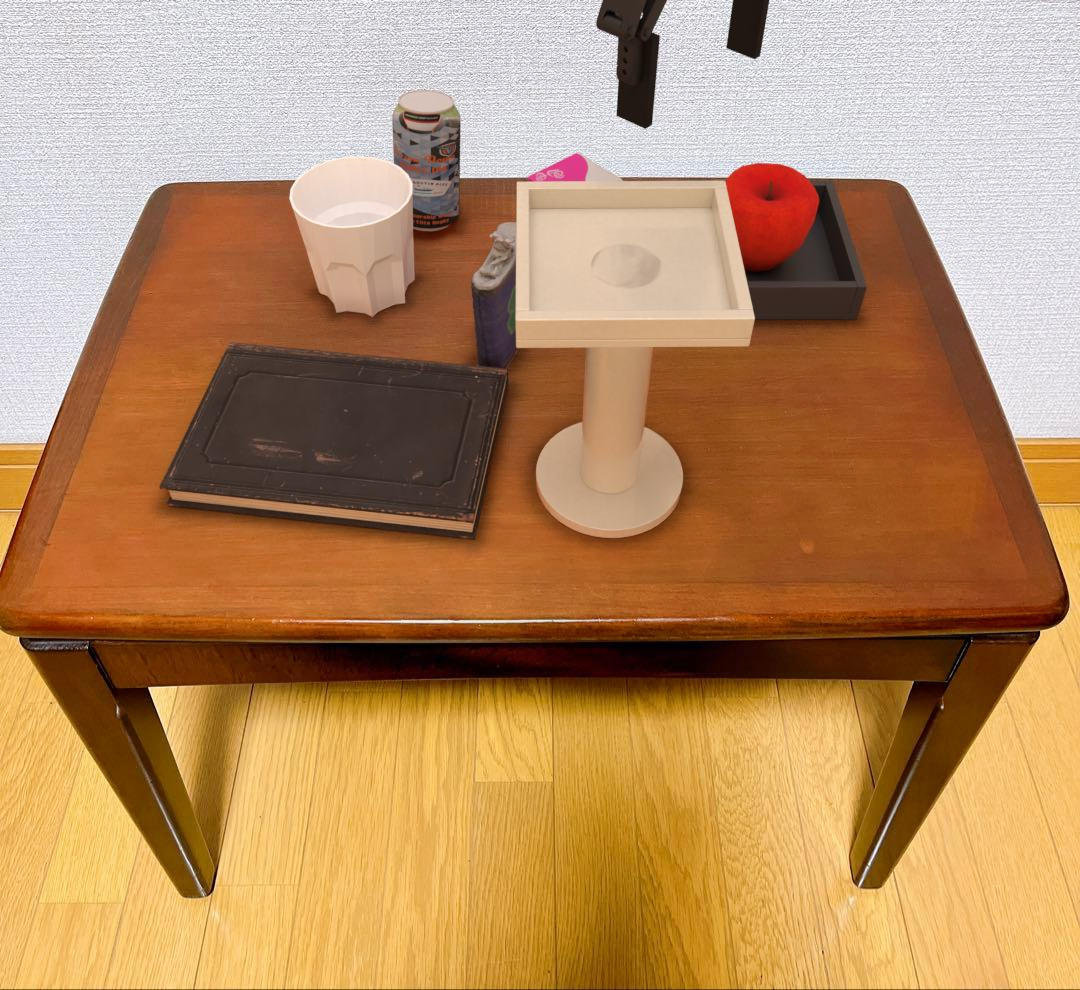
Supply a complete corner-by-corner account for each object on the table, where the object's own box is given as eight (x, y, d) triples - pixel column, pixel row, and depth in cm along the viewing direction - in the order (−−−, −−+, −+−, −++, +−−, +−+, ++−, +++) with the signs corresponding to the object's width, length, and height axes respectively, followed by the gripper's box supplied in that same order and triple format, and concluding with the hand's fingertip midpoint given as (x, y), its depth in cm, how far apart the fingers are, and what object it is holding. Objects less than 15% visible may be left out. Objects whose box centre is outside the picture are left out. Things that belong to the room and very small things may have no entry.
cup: (406, 329, 87) (394, 233, 79) (295, 316, 88) (272, 220, 81) (435, 258, 93) (425, 163, 86) (330, 246, 94) (312, 151, 87)
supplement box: (575, 260, 93) (579, 148, 84) (619, 292, 90) (627, 180, 81) (526, 286, 91) (525, 174, 82) (569, 320, 88) (573, 207, 79)
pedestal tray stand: (687, 416, 81) (725, 180, 64) (706, 550, 72) (755, 318, 56) (521, 417, 80) (516, 181, 64) (521, 551, 72) (515, 319, 56)
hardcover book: (474, 540, 73) (473, 520, 71) (167, 506, 75) (158, 486, 73) (509, 384, 83) (508, 364, 81) (237, 358, 85) (231, 337, 83)
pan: (824, 212, 98) (833, 180, 95) (856, 319, 88) (867, 286, 85) (663, 212, 98) (666, 180, 95) (677, 319, 88) (681, 287, 85)
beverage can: (388, 236, 95) (372, 118, 86) (413, 192, 100) (400, 76, 91) (452, 246, 95) (442, 128, 85) (474, 201, 99) (467, 84, 90)
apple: (811, 290, 90) (831, 215, 83) (712, 289, 90) (724, 214, 84) (797, 229, 95) (815, 154, 89) (703, 227, 95) (715, 153, 89)
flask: (502, 303, 89) (499, 198, 81) (534, 308, 89) (534, 204, 81) (472, 373, 84) (465, 269, 75) (506, 380, 83) (502, 276, 75)
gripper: (793, -308, 68) (745, 12, 84) (542, -219, 56) (542, 132, 72) (893, -287, 64) (823, 41, 81) (649, -189, 53) (624, 172, 69)
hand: (690, 85), depth 76 cm, fingers open, 13 cm apart
